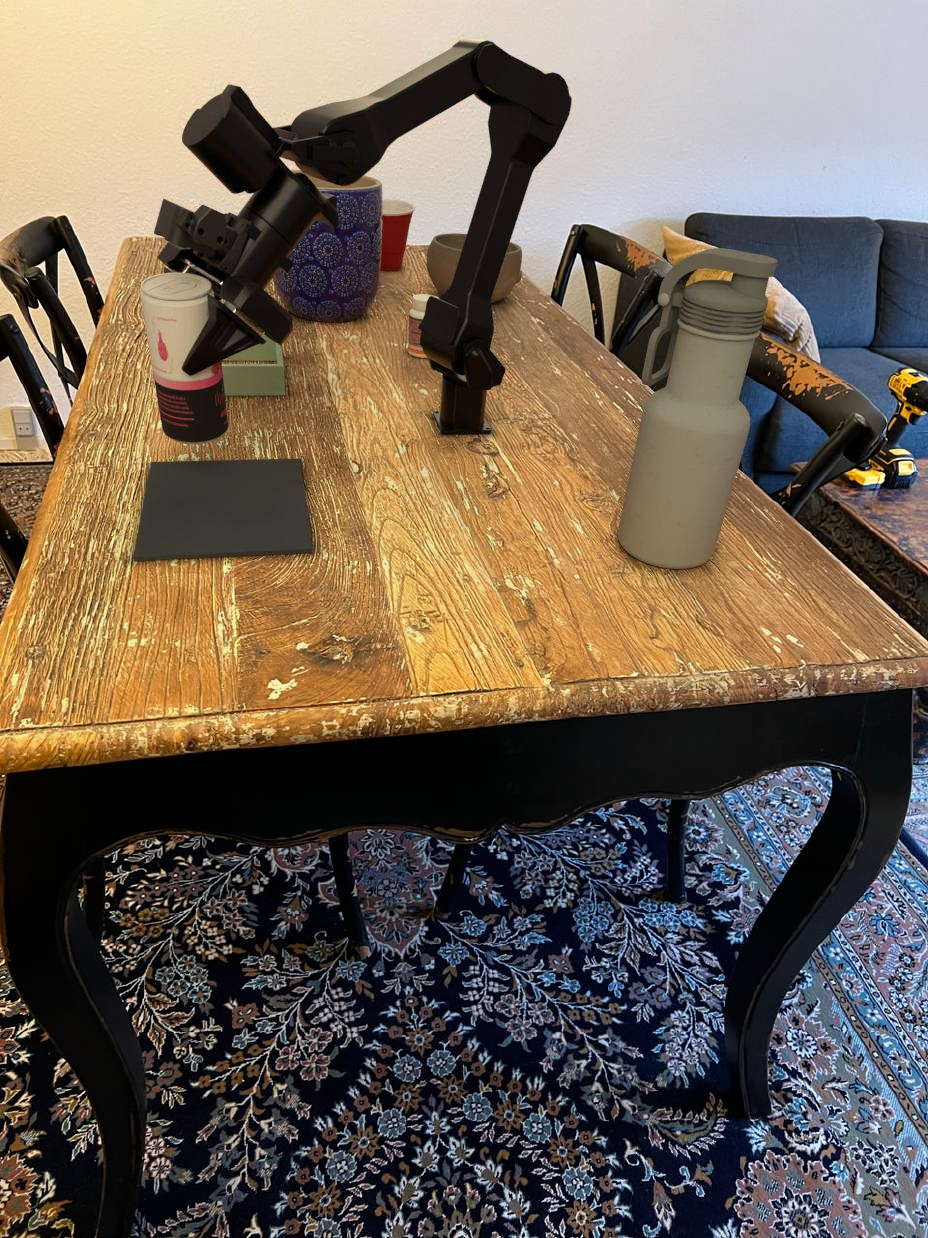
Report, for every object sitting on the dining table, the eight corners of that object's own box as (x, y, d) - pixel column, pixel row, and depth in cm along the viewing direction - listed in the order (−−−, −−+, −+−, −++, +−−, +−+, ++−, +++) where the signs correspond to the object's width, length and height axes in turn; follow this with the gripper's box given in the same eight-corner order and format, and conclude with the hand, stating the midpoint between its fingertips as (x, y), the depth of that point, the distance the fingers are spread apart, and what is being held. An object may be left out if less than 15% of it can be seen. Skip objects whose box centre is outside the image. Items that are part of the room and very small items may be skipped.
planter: (251, 317, 138) (241, 177, 126) (303, 292, 153) (299, 165, 141) (353, 335, 134) (352, 193, 122) (397, 308, 148) (400, 178, 137)
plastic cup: (351, 269, 169) (351, 204, 162) (372, 258, 178) (372, 196, 171) (402, 277, 167) (404, 211, 160) (420, 266, 176) (422, 203, 169)
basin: (285, 395, 111) (283, 365, 109) (170, 396, 108) (166, 365, 106) (280, 358, 123) (279, 331, 120) (176, 358, 120) (172, 330, 117)
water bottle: (596, 548, 84) (653, 250, 68) (636, 513, 91) (696, 235, 75) (691, 584, 80) (777, 275, 64) (726, 544, 87) (810, 256, 70)
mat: (312, 552, 79) (312, 548, 79) (133, 561, 76) (133, 556, 76) (300, 462, 95) (300, 458, 95) (151, 465, 92) (150, 461, 91)
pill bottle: (434, 360, 127) (437, 303, 122) (404, 355, 128) (406, 299, 123) (441, 350, 131) (444, 295, 126) (412, 346, 132) (414, 291, 127)
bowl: (526, 293, 164) (532, 238, 158) (505, 316, 149) (511, 257, 144) (441, 281, 167) (444, 226, 161) (413, 302, 152) (415, 243, 147)
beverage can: (242, 430, 88) (228, 286, 78) (191, 453, 83) (170, 304, 74) (200, 408, 90) (181, 266, 80) (149, 430, 86) (123, 282, 76)
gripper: (163, 149, 80) (67, 282, 80) (250, 182, 68) (137, 337, 69) (248, 232, 88) (160, 351, 89) (337, 274, 77) (236, 411, 77)
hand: (171, 361), depth 81 cm, fingers closed on beverage can, 6 cm apart
